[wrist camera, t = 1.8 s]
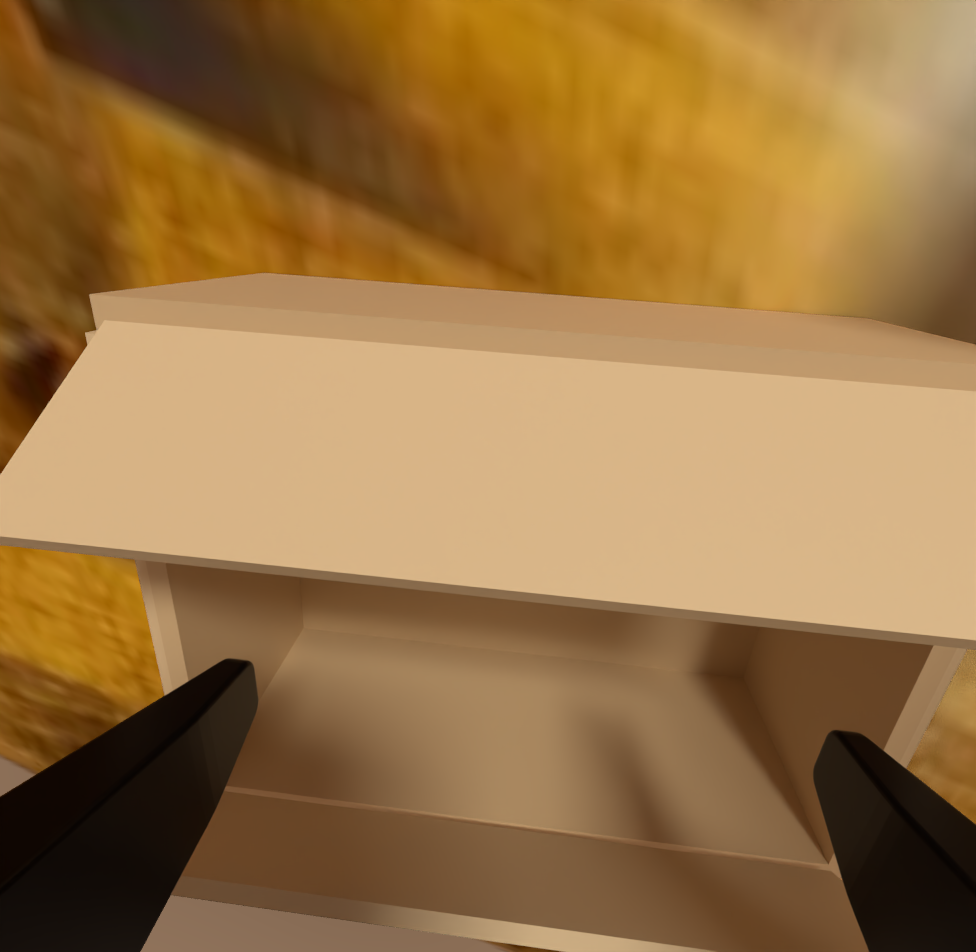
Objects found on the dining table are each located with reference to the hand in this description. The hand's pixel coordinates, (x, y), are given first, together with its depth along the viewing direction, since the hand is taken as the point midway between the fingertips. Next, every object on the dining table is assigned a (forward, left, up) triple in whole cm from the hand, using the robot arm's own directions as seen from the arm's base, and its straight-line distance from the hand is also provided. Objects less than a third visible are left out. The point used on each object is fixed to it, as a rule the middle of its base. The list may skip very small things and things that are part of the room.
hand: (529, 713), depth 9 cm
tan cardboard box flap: (0, -4, 0) cm, 4 cm away
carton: (0, 0, -8) cm, 8 cm away
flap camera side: (0, +4, 0) cm, 4 cm away
